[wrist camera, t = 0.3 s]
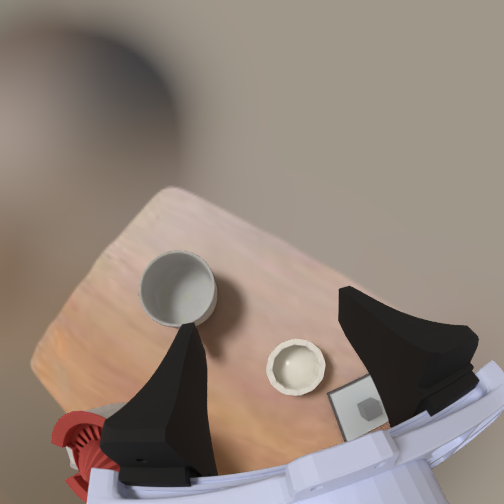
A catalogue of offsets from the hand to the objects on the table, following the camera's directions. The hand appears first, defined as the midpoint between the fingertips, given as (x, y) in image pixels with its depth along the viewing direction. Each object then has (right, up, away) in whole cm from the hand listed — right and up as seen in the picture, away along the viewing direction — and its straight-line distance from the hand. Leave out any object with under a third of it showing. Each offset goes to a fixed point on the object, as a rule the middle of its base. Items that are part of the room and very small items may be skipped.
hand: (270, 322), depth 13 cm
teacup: (-11, -5, +30) cm, 33 cm away
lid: (+17, -21, +23) cm, 35 cm away
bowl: (+5, -14, +26) cm, 30 cm away
